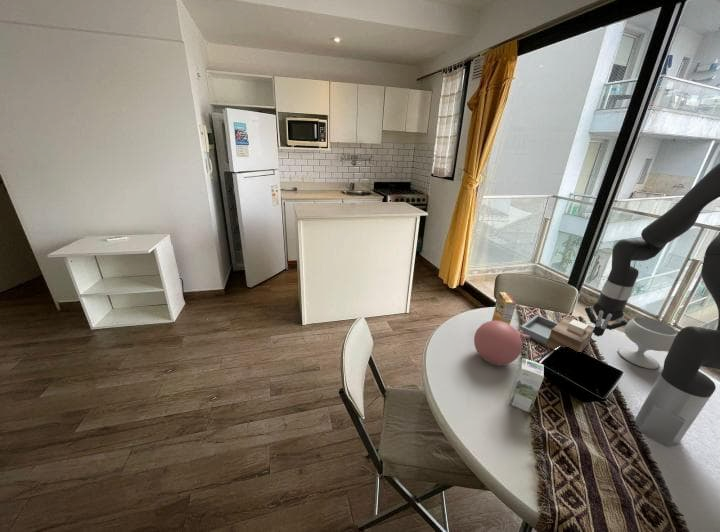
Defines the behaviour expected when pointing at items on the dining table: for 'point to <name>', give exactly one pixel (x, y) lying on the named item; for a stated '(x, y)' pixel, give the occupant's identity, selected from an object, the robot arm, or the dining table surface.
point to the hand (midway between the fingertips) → (597, 335)
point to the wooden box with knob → (568, 336)
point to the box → (538, 329)
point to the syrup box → (526, 384)
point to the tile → (577, 327)
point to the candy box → (504, 308)
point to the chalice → (647, 340)
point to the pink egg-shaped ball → (499, 342)
